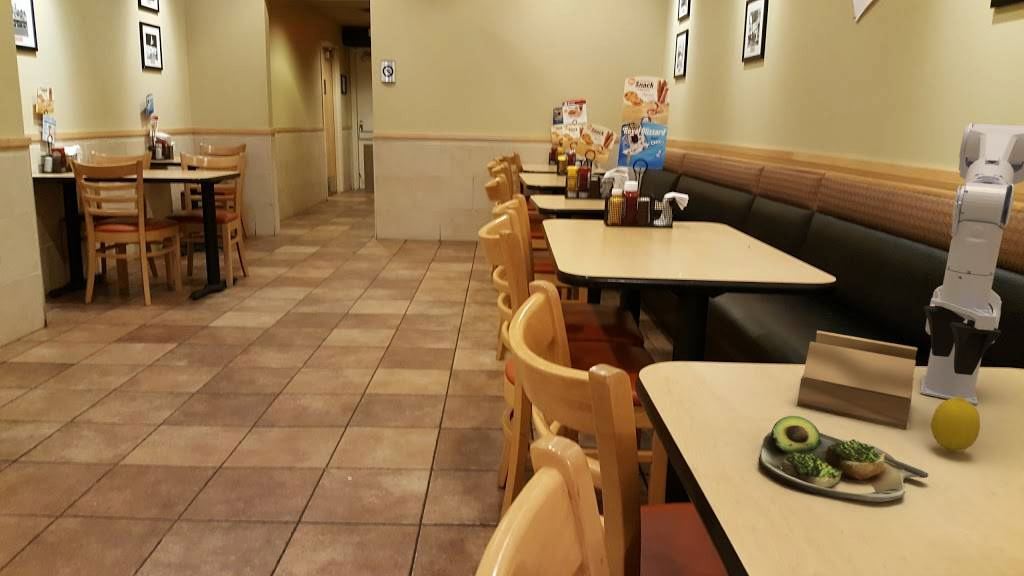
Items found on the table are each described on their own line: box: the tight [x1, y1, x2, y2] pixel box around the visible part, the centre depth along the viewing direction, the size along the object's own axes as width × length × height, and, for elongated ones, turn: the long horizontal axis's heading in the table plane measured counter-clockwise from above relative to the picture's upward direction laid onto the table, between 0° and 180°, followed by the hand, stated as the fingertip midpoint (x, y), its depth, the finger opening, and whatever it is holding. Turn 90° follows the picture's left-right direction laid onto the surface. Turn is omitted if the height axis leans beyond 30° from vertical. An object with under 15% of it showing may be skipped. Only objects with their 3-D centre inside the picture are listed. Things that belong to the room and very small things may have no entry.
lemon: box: [930, 397, 981, 454], centre depth 99 cm, size 6×6×8 cm
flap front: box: [802, 341, 917, 398], centre depth 110 cm, size 6×14×1 cm
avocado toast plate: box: [758, 415, 929, 503], centre depth 93 cm, size 19×18×5 cm
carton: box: [796, 375, 914, 431], centre depth 115 cm, size 12×15×4 cm
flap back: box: [815, 330, 918, 360], centre depth 118 cm, size 6×14×1 cm
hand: (951, 364), depth 105 cm, fingers open, 7 cm apart
